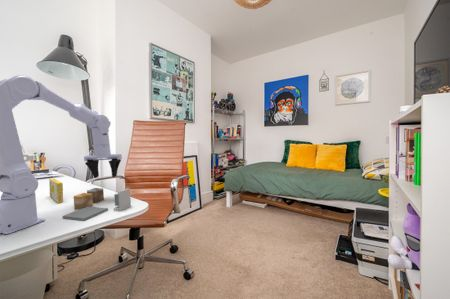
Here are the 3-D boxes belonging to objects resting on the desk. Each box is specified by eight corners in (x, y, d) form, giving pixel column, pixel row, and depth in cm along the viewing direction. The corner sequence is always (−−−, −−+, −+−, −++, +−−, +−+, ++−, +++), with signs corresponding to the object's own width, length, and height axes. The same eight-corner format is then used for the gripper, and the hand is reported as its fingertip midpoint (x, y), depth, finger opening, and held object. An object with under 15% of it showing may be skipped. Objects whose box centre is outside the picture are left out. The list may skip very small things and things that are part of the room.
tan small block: (83, 210, 73) (82, 196, 72) (74, 209, 74) (73, 196, 73) (92, 206, 76) (92, 193, 76) (84, 205, 77) (83, 192, 77)
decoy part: (95, 203, 80) (94, 191, 79) (87, 202, 81) (86, 190, 80) (104, 200, 84) (103, 188, 83) (96, 199, 85) (95, 188, 84)
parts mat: (84, 220, 63) (84, 218, 63) (62, 218, 65) (62, 216, 65) (108, 210, 72) (107, 208, 72) (87, 208, 74) (87, 206, 74)
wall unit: (120, 211, 71) (119, 191, 70) (113, 210, 72) (112, 191, 71) (130, 206, 76) (129, 188, 75) (124, 205, 76) (123, 187, 76)
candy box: (64, 202, 82) (62, 182, 81) (57, 204, 80) (55, 183, 80) (55, 195, 92) (54, 177, 92) (49, 196, 91) (48, 178, 90)
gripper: (124, 143, 87) (127, 173, 88) (90, 144, 87) (94, 175, 88) (115, 144, 80) (119, 178, 81) (78, 146, 80) (83, 179, 81)
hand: (105, 177), depth 84 cm, fingers open, 7 cm apart
